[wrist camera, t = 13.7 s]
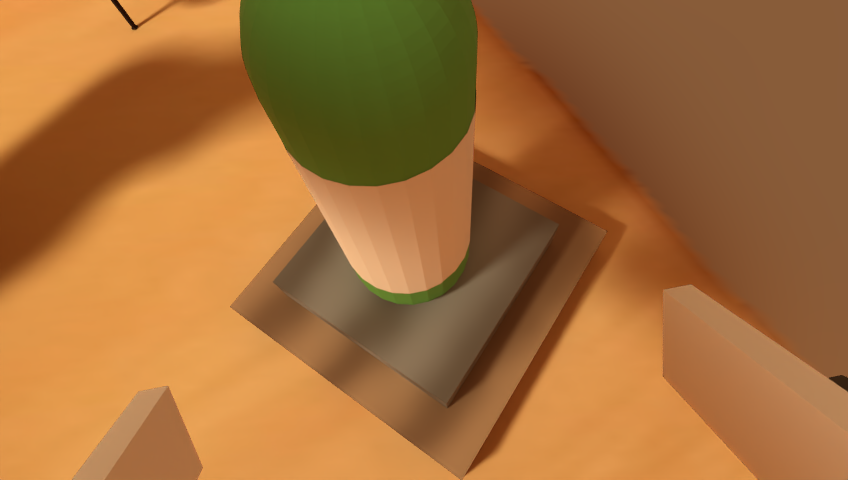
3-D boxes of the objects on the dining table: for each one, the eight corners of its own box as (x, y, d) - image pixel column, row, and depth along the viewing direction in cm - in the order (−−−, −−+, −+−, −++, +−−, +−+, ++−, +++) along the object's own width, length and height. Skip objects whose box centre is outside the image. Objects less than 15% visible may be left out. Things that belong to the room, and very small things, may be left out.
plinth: (246, 317, 38) (210, 294, 32) (394, 138, 44) (385, 93, 38) (461, 478, 32) (462, 483, 27) (596, 247, 38) (619, 212, 33)
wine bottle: (493, 248, 32) (680, -909, 5) (416, 335, 30) (-3, -829, 3) (408, 184, 35) (218, -816, 7) (331, 261, 33) (-326, -739, 5)
